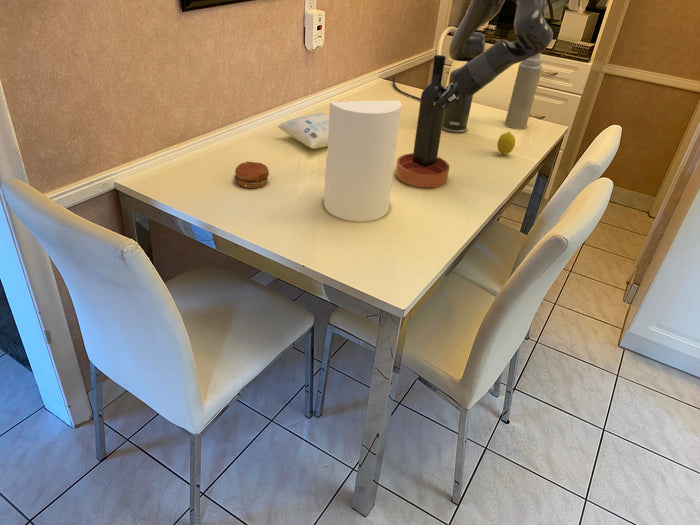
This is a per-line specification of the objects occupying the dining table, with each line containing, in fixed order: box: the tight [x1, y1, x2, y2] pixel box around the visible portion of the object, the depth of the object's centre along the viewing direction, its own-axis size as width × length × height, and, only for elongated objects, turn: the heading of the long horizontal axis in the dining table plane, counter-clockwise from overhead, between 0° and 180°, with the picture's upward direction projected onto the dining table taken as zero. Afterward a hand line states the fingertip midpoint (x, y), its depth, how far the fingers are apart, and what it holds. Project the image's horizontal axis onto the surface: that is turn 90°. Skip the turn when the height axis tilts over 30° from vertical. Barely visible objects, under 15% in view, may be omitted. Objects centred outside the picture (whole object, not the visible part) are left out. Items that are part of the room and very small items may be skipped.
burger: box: [233, 161, 270, 189], centre depth 146 cm, size 10×9×5 cm
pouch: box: [276, 112, 329, 150], centre depth 172 cm, size 8×19×20 cm
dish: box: [395, 152, 450, 188], centre depth 155 cm, size 15×15×4 cm
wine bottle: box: [412, 54, 447, 167], centre depth 146 cm, size 6×6×30 cm
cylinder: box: [323, 99, 402, 223], centre depth 132 cm, size 17×17×28 cm
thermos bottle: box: [504, 53, 543, 130], centre depth 193 cm, size 8×8×28 cm
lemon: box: [496, 131, 516, 156], centre depth 173 cm, size 6×6×8 cm
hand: (426, 111), depth 146 cm, fingers closed on wine bottle, 7 cm apart
